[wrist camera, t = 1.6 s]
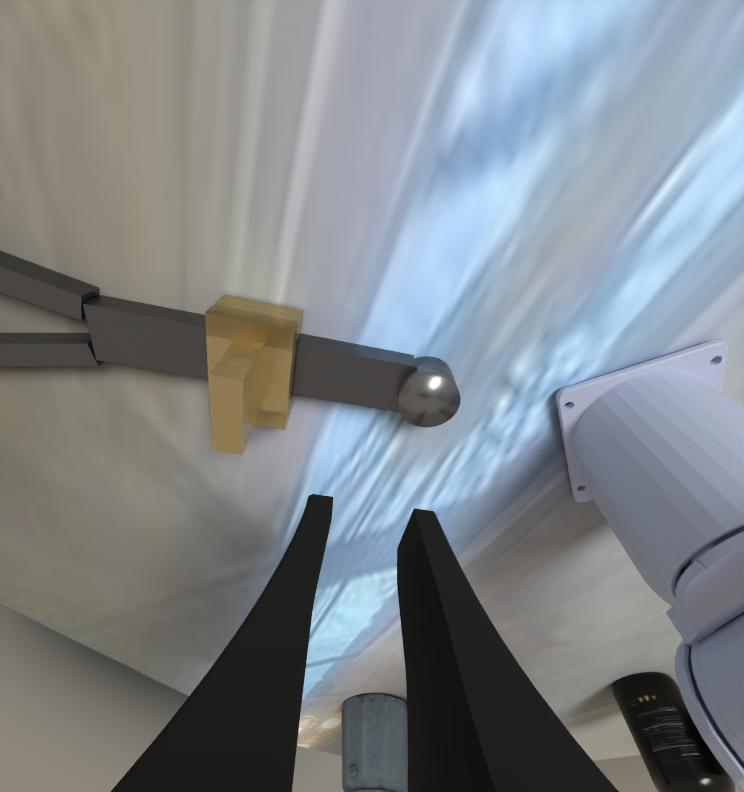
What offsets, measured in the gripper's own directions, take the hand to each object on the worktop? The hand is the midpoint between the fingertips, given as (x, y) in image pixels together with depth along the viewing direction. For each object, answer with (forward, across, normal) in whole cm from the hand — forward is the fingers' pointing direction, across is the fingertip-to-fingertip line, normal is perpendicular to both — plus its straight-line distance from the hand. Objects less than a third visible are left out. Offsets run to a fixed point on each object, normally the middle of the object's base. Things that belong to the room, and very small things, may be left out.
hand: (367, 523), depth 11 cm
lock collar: (+9, +6, 0) cm, 11 cm away
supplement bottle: (+10, -40, +34) cm, 53 cm away
